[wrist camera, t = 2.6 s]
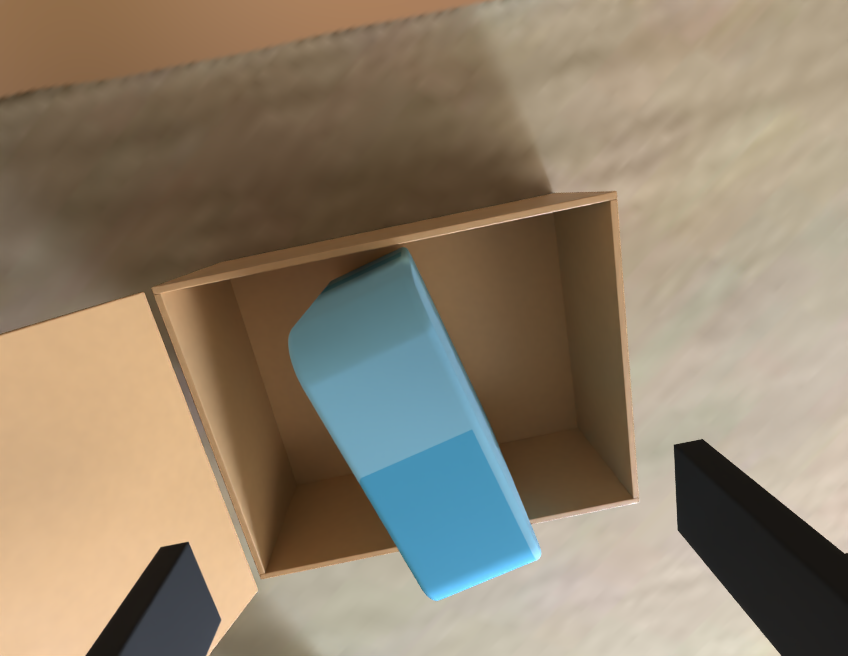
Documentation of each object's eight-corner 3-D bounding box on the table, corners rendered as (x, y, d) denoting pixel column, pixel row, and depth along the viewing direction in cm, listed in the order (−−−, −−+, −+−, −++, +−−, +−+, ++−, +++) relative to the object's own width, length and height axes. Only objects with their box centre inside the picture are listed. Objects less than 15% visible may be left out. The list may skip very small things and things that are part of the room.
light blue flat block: (331, 277, 25) (273, 345, 13) (405, 242, 25) (411, 281, 13) (422, 450, 28) (439, 624, 17) (489, 420, 28) (553, 577, 16)
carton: (294, 486, 29) (260, 579, 22) (220, 262, 25) (150, 287, 18) (580, 428, 29) (639, 502, 22) (554, 192, 25) (617, 191, 18)
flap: (258, 590, 21) (253, 589, 21) (144, 291, 17) (138, 292, 17) (54, 859, 13) (47, 855, 13) (-258, 412, 9) (-264, 412, 9)
